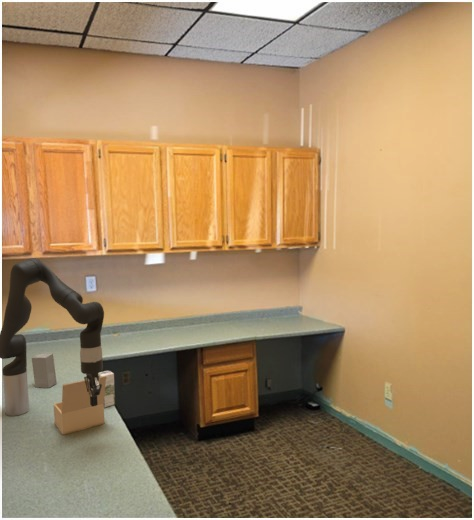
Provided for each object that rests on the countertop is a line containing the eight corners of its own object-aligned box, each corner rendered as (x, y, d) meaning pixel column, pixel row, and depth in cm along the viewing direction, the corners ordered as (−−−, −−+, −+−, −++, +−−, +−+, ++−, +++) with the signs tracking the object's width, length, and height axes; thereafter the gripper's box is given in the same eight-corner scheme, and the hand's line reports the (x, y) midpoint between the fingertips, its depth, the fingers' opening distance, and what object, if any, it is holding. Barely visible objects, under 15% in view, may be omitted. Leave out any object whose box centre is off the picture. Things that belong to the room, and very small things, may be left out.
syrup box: (108, 401, 206) (107, 369, 205) (115, 404, 202) (113, 372, 200) (97, 405, 202) (95, 373, 201) (103, 408, 198) (101, 375, 196)
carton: (54, 423, 184) (53, 403, 184) (94, 413, 193) (93, 394, 193) (63, 435, 173) (61, 414, 173) (104, 423, 183) (103, 404, 182)
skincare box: (57, 384, 231) (55, 353, 230) (47, 389, 224) (45, 357, 223) (42, 383, 233) (40, 352, 232) (33, 387, 226) (31, 356, 225)
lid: (62, 384, 168) (63, 385, 168) (105, 375, 178) (106, 376, 177) (61, 413, 173) (61, 414, 173) (103, 402, 182) (103, 403, 182)
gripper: (75, 356, 167) (78, 402, 169) (86, 364, 156) (89, 414, 158) (96, 352, 172) (98, 397, 173) (108, 360, 161) (110, 408, 162)
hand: (94, 405), depth 165 cm, fingers closed
